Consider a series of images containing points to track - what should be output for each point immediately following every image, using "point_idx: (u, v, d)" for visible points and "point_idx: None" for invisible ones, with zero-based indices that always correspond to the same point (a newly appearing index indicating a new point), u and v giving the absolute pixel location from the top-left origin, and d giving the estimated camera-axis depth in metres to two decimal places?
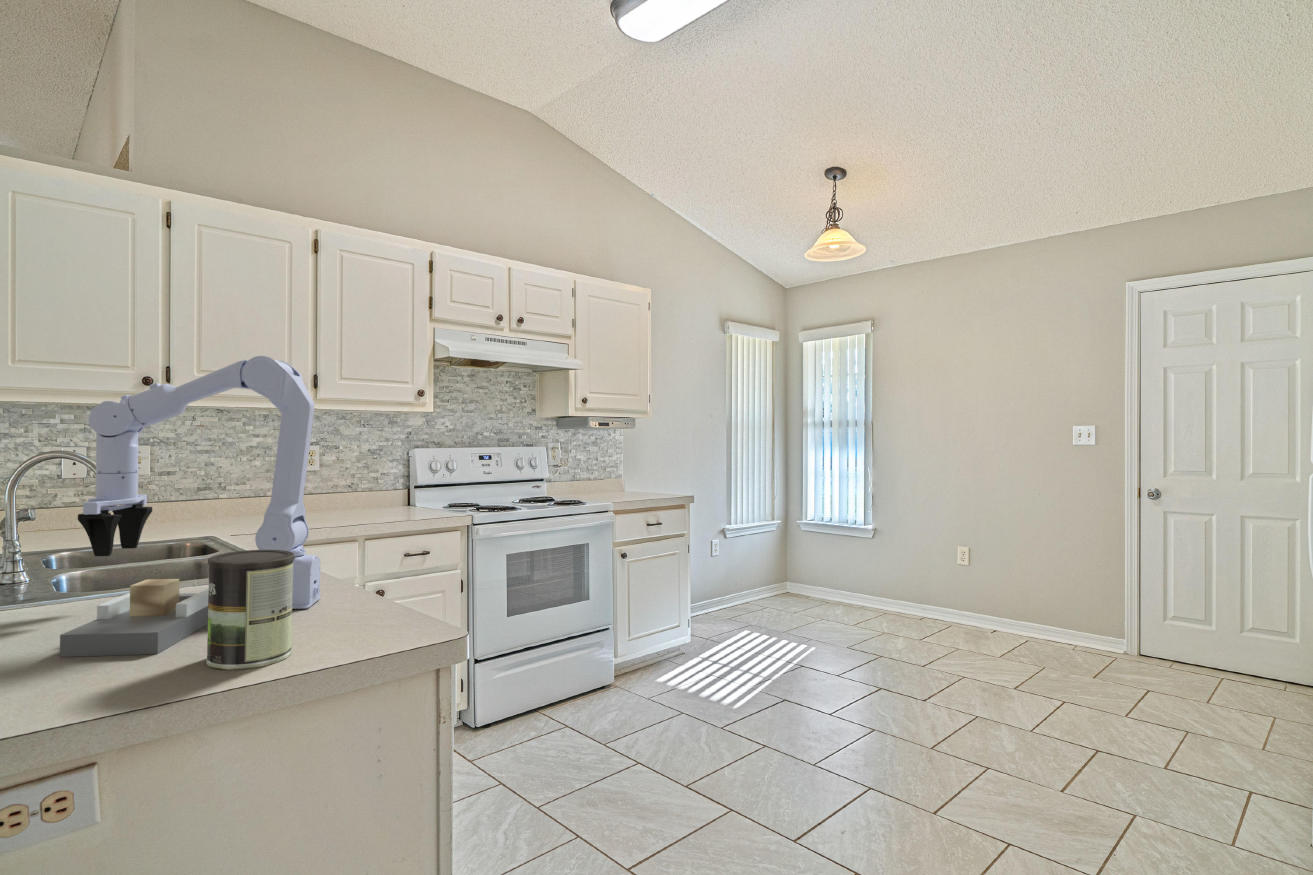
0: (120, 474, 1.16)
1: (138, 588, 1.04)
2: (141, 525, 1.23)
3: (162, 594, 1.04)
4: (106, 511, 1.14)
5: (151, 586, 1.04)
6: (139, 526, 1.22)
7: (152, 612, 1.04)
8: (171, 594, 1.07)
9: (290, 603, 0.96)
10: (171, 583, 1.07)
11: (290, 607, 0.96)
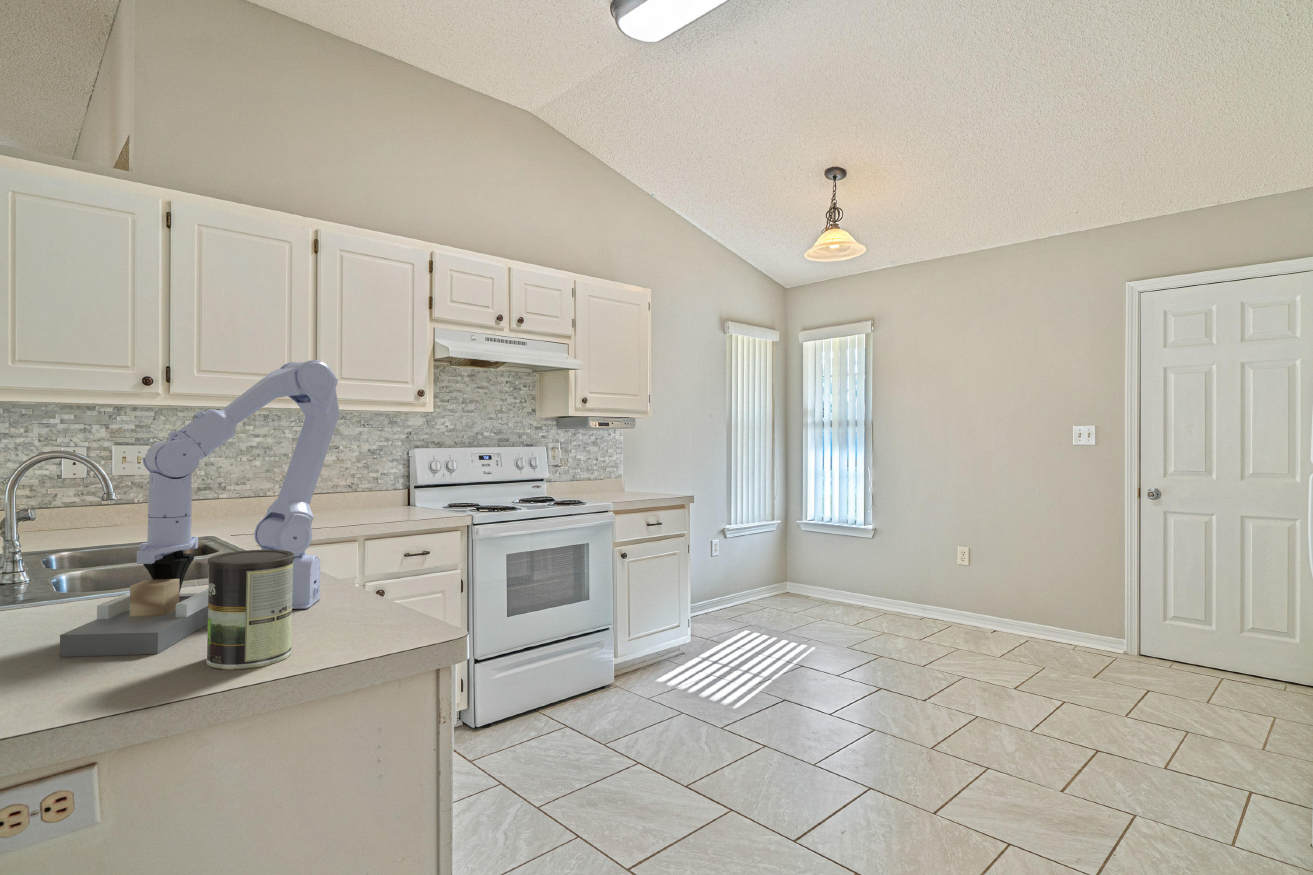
0: (174, 518, 1.08)
1: (138, 588, 1.04)
2: (182, 574, 1.11)
3: (162, 594, 1.04)
4: (172, 555, 1.09)
5: (151, 586, 1.04)
6: (180, 576, 1.11)
7: (152, 612, 1.04)
8: (171, 594, 1.07)
9: (290, 603, 0.96)
10: (171, 583, 1.07)
11: (290, 607, 0.96)
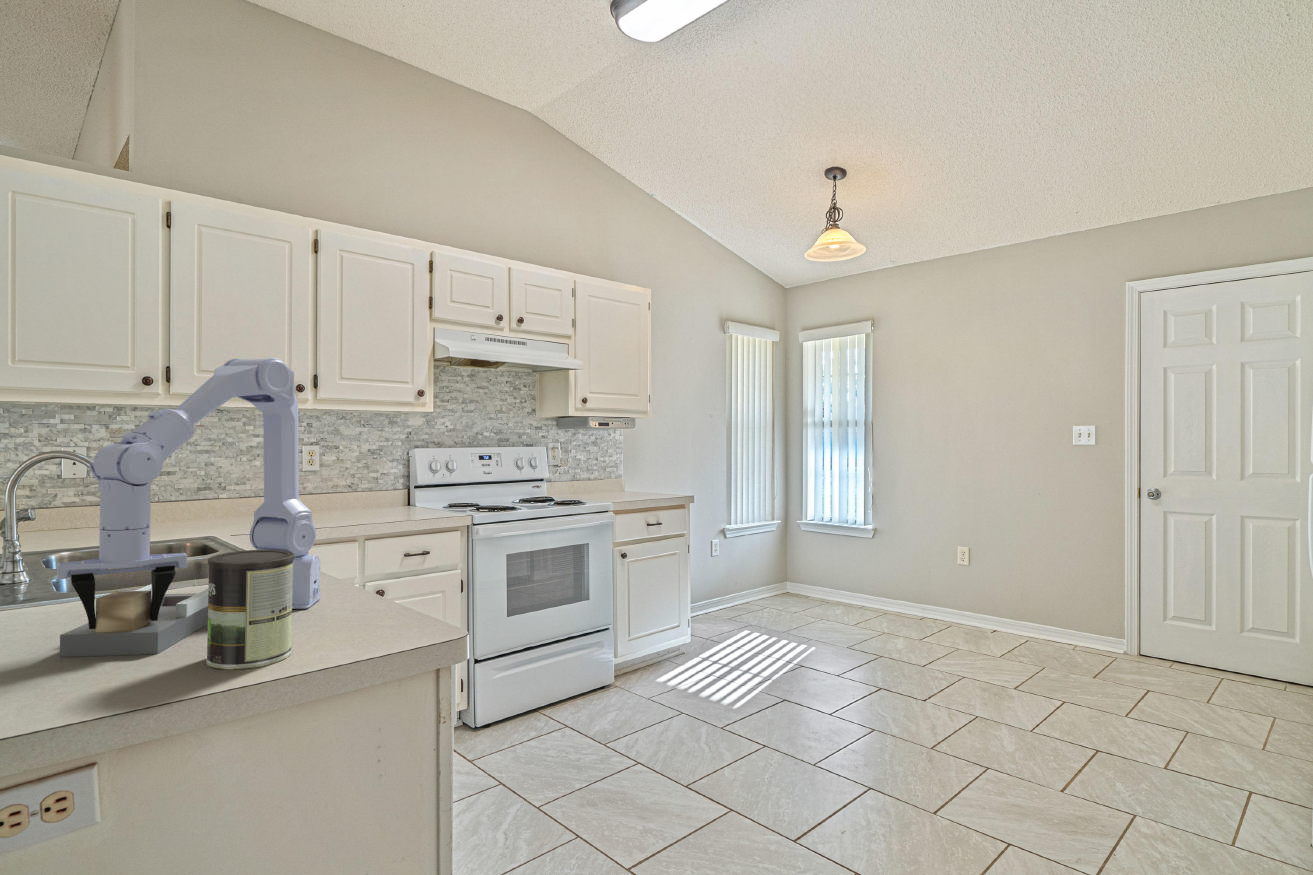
0: (105, 531, 0.95)
1: (105, 601, 0.96)
2: (157, 593, 0.99)
3: (131, 608, 0.96)
4: (87, 575, 0.95)
5: (119, 599, 0.96)
6: (155, 595, 0.99)
7: (120, 628, 0.96)
8: (141, 607, 0.98)
9: (290, 603, 0.96)
10: (141, 596, 0.98)
11: (290, 607, 0.96)
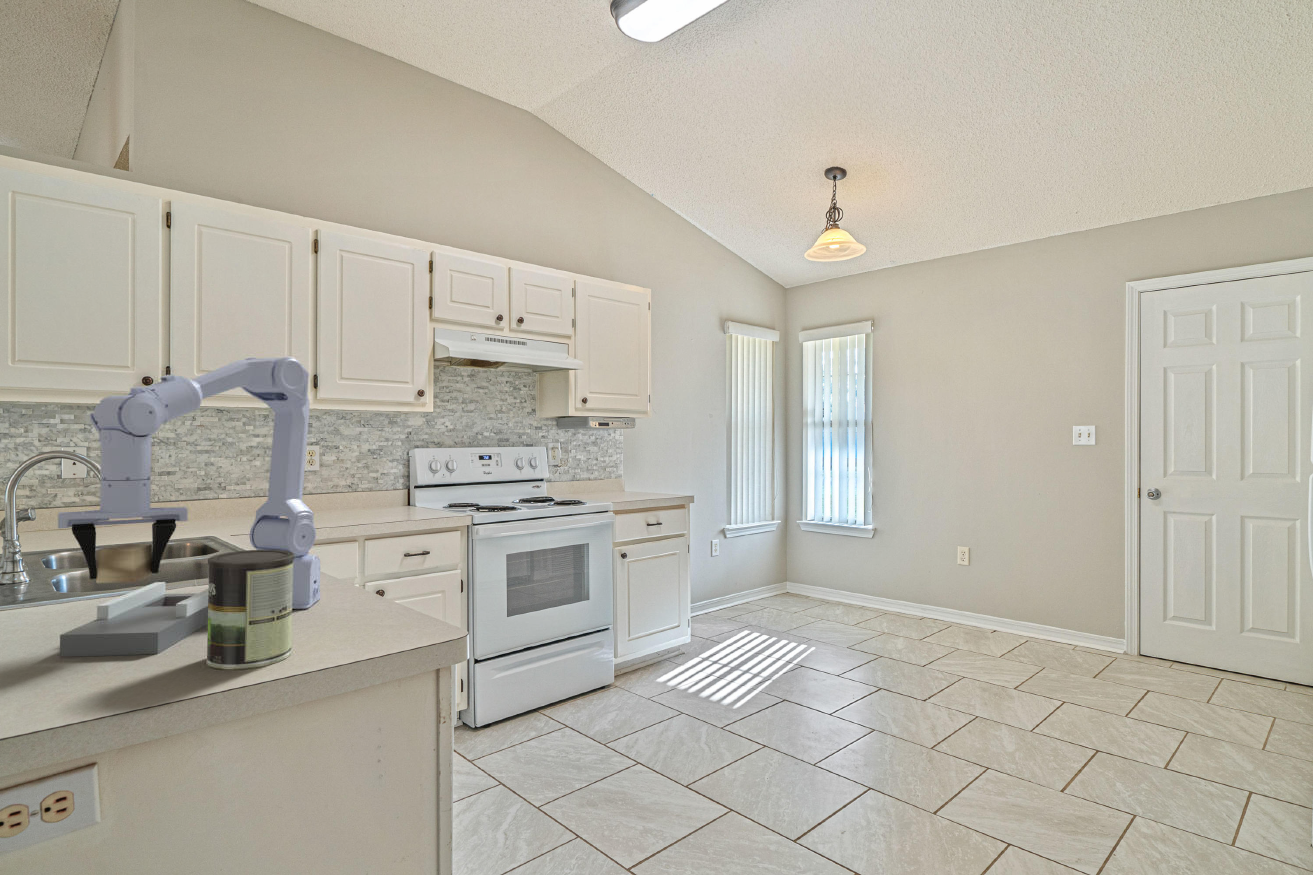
0: (106, 481, 0.95)
1: (106, 552, 0.96)
2: (158, 545, 0.99)
3: (132, 559, 0.96)
4: (88, 525, 0.95)
5: (120, 550, 0.96)
6: (156, 547, 0.99)
7: (121, 579, 0.96)
8: (142, 560, 0.98)
9: (290, 603, 0.96)
10: (142, 548, 0.98)
11: (290, 607, 0.96)
